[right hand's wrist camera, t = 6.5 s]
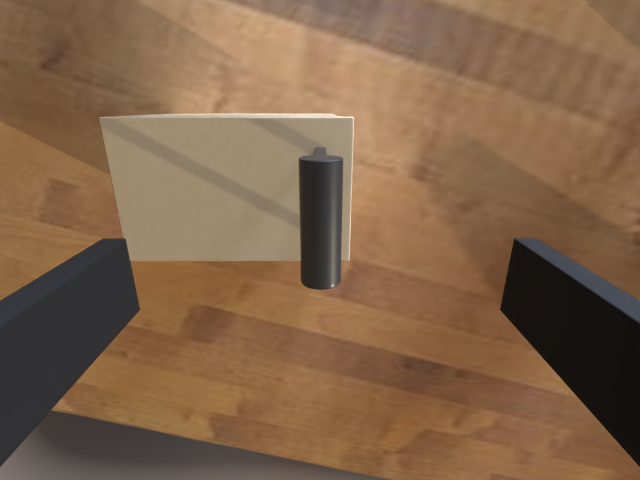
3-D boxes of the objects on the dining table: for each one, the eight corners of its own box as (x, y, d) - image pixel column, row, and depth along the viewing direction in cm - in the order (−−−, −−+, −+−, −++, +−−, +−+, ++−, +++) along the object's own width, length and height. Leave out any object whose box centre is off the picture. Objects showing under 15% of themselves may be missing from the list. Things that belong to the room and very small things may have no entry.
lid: (352, 116, 23) (369, 121, 15) (348, 255, 27) (360, 318, 19) (108, 116, 23) (-2, 121, 15) (135, 255, 27) (56, 318, 19)
